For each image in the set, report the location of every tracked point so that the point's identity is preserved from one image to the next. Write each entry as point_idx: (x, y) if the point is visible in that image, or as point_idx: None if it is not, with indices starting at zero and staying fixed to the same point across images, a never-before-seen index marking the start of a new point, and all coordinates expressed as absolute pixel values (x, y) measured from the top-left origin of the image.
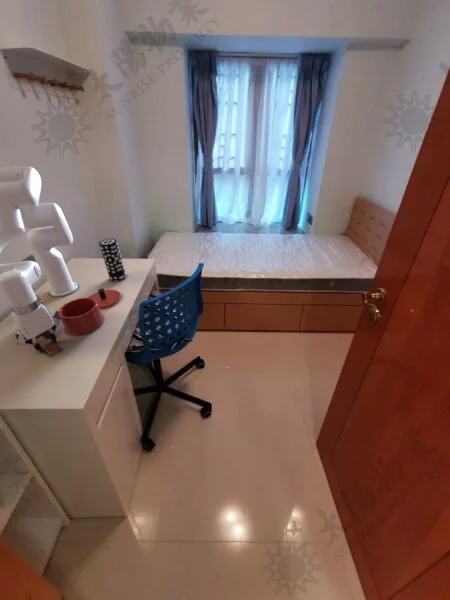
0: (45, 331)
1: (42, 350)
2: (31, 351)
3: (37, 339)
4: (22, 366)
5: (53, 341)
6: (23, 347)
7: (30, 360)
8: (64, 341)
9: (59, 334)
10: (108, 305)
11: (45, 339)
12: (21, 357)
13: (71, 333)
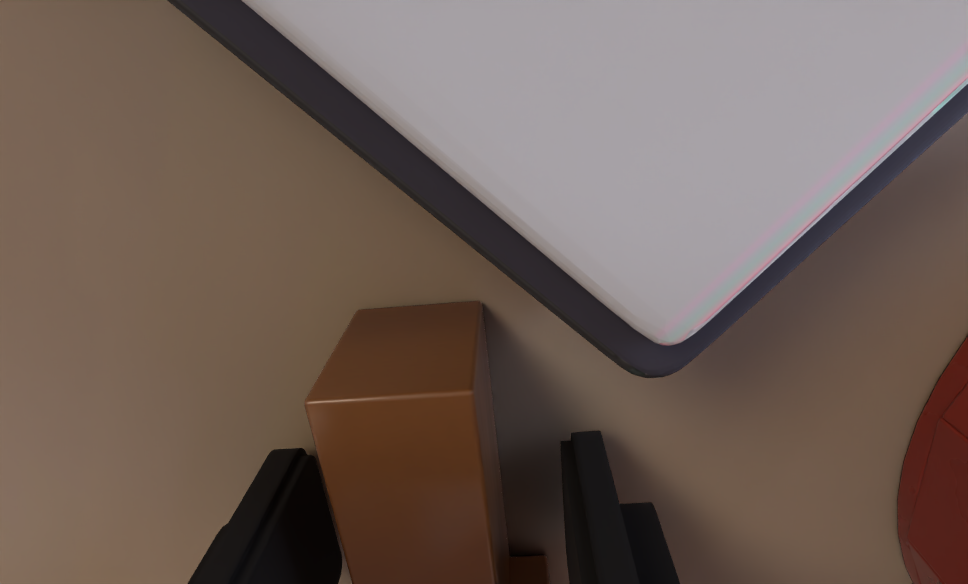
0: (640, 366)
1: (331, 580)
2: (187, 370)
3: (326, 439)
4: (21, 575)
5: (569, 565)
6: (57, 88)
7: (137, 553)
8: (697, 566)
9: (799, 320)
10: None
11: (468, 582)
12: (9, 383)
13: (919, 561)
